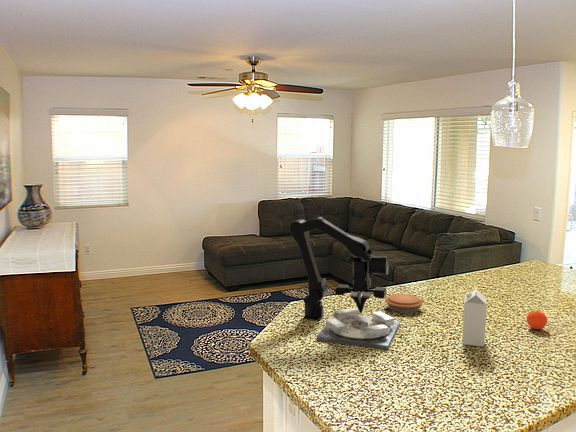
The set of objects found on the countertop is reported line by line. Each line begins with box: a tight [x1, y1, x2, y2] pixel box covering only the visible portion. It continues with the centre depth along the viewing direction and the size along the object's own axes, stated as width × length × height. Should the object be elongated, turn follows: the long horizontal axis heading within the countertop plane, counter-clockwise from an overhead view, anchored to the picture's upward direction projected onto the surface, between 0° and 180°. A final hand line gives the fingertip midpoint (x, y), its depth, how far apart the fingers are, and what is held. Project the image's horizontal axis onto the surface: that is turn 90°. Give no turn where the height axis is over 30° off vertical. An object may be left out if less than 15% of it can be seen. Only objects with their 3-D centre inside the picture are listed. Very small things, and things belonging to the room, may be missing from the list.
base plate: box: [316, 316, 401, 351], centre depth 191 cm, size 25×25×2 cm
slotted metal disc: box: [325, 307, 395, 340], centre depth 191 cm, size 23×23×4 cm
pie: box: [384, 293, 424, 314], centre depth 218 cm, size 15×16×5 cm
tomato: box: [524, 309, 548, 330], centre depth 195 cm, size 8×7×7 cm
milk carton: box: [461, 287, 488, 348], centre depth 181 cm, size 7×7×19 cm
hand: (361, 312), depth 201 cm, fingers closed
